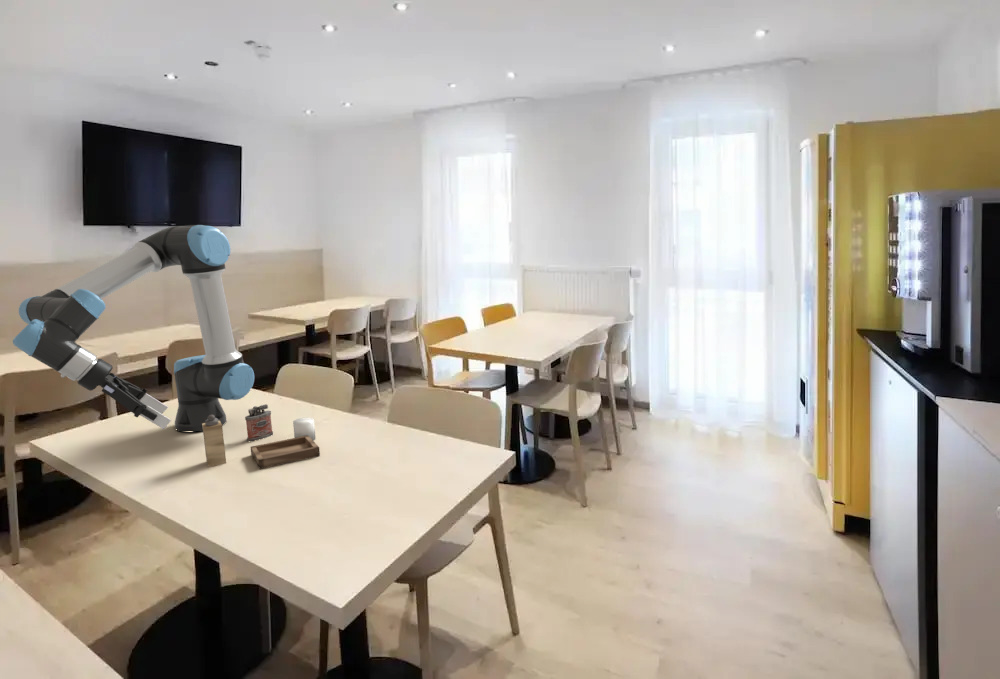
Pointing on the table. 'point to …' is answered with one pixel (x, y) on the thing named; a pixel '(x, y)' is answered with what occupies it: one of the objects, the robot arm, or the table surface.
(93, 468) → the table surface
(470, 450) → the table surface
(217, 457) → the pepper mill
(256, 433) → the lighter
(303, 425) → the white pillar candle
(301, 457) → the tray
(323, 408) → the table surface
